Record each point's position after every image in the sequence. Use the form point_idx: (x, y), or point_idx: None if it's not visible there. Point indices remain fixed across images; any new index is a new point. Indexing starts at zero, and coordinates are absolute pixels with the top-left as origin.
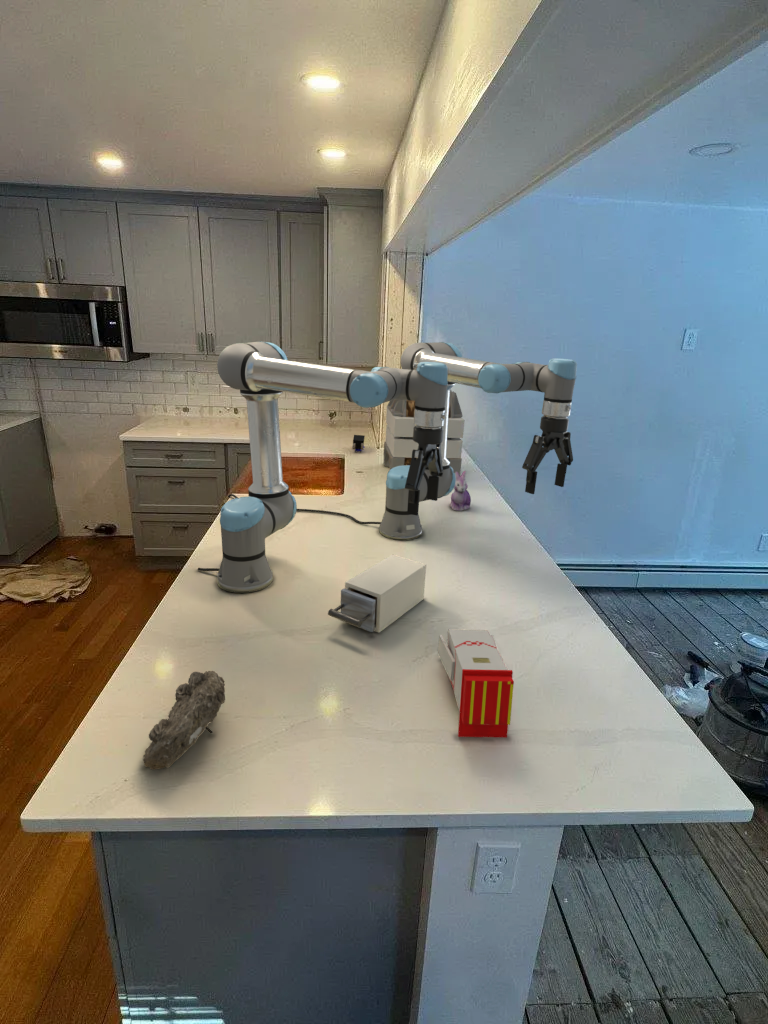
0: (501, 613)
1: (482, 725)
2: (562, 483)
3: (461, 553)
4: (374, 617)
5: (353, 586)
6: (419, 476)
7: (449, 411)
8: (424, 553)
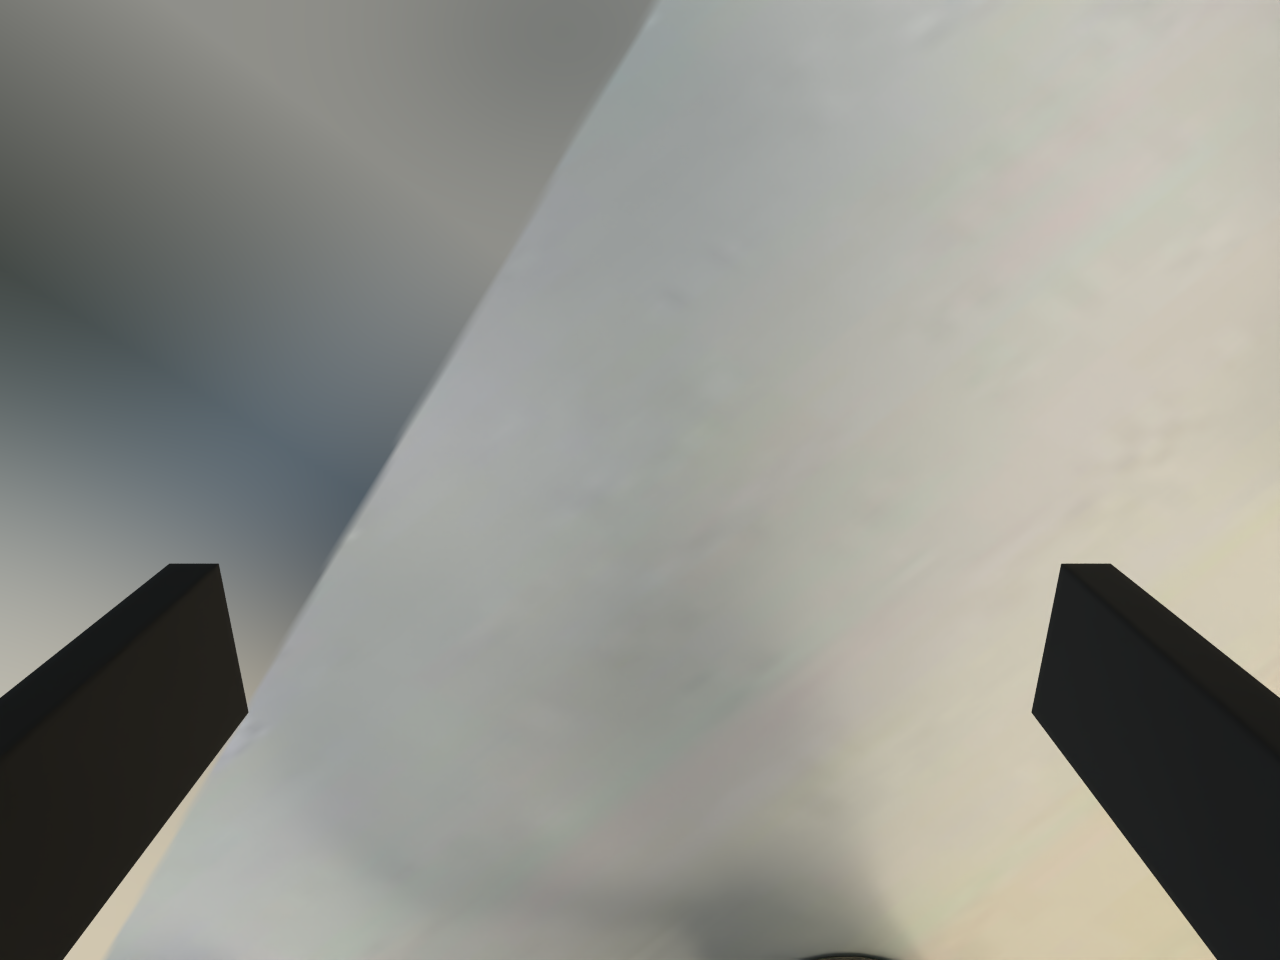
0: (1258, 79)
1: None
2: (177, 601)
3: (775, 732)
4: None
5: None
6: None
7: None
8: (941, 821)
